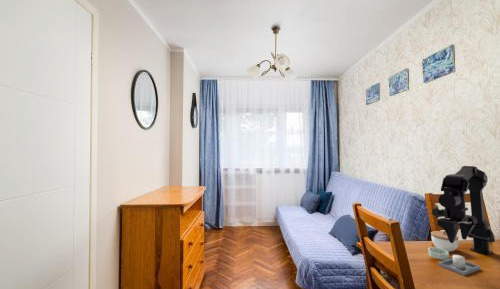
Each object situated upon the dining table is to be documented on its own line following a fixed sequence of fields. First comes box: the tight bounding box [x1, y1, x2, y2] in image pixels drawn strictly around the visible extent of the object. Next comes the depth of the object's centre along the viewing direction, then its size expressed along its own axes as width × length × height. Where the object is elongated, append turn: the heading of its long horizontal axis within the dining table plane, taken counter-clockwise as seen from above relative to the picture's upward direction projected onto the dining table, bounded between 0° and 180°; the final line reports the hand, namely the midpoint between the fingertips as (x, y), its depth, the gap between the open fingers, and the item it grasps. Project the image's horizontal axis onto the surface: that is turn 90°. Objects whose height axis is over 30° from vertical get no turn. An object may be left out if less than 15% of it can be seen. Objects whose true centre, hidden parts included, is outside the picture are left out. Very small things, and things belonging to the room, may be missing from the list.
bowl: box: [427, 246, 450, 261], centre depth 109 cm, size 8×8×3 cm
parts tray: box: [438, 257, 481, 277], centre depth 99 cm, size 12×9×2 cm
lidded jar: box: [430, 230, 459, 252], centre depth 117 cm, size 11×11×9 cm
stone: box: [452, 254, 466, 270], centre depth 99 cm, size 4×4×4 cm
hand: (457, 241), depth 99 cm, fingers open, 9 cm apart
